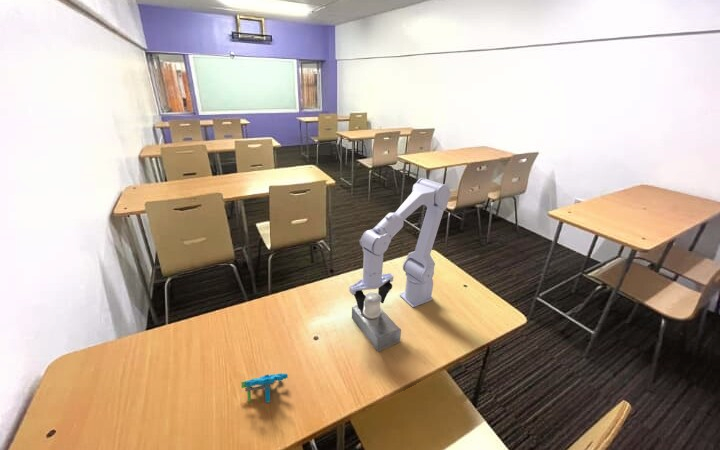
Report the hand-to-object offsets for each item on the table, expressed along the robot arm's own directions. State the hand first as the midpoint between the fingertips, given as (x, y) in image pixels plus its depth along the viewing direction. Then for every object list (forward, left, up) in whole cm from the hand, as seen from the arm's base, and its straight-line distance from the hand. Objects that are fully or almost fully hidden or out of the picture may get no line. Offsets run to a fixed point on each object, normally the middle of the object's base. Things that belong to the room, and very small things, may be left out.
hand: (370, 304), depth 95 cm
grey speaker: (0, +3, -7) cm, 8 cm away
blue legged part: (+35, +8, -8) cm, 37 cm away
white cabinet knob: (0, +1, -3) cm, 3 cm away
